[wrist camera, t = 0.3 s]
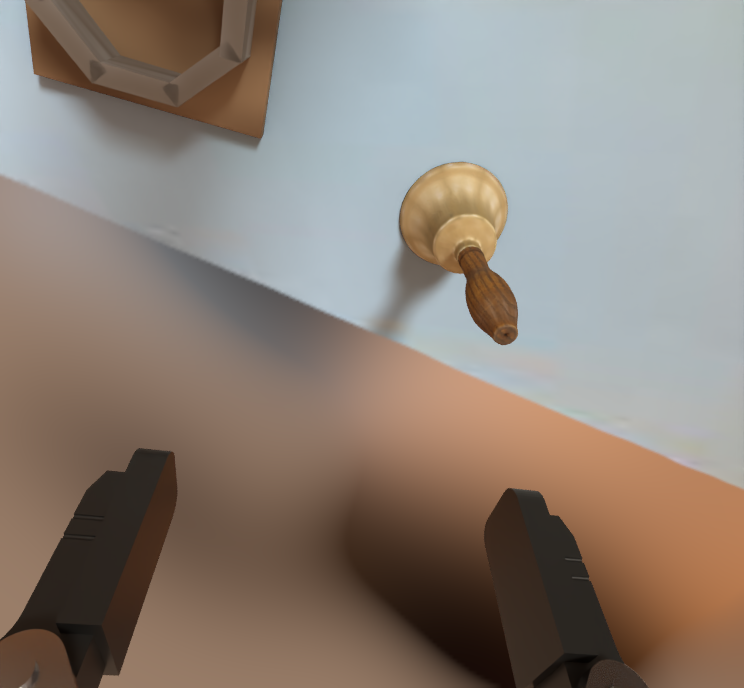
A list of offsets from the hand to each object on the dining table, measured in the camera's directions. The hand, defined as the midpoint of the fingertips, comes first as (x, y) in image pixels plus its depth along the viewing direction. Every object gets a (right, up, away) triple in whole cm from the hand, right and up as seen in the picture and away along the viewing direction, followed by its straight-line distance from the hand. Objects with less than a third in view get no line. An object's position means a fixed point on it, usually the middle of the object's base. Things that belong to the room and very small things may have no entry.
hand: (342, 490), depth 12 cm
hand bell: (+7, +14, +26) cm, 30 cm away
